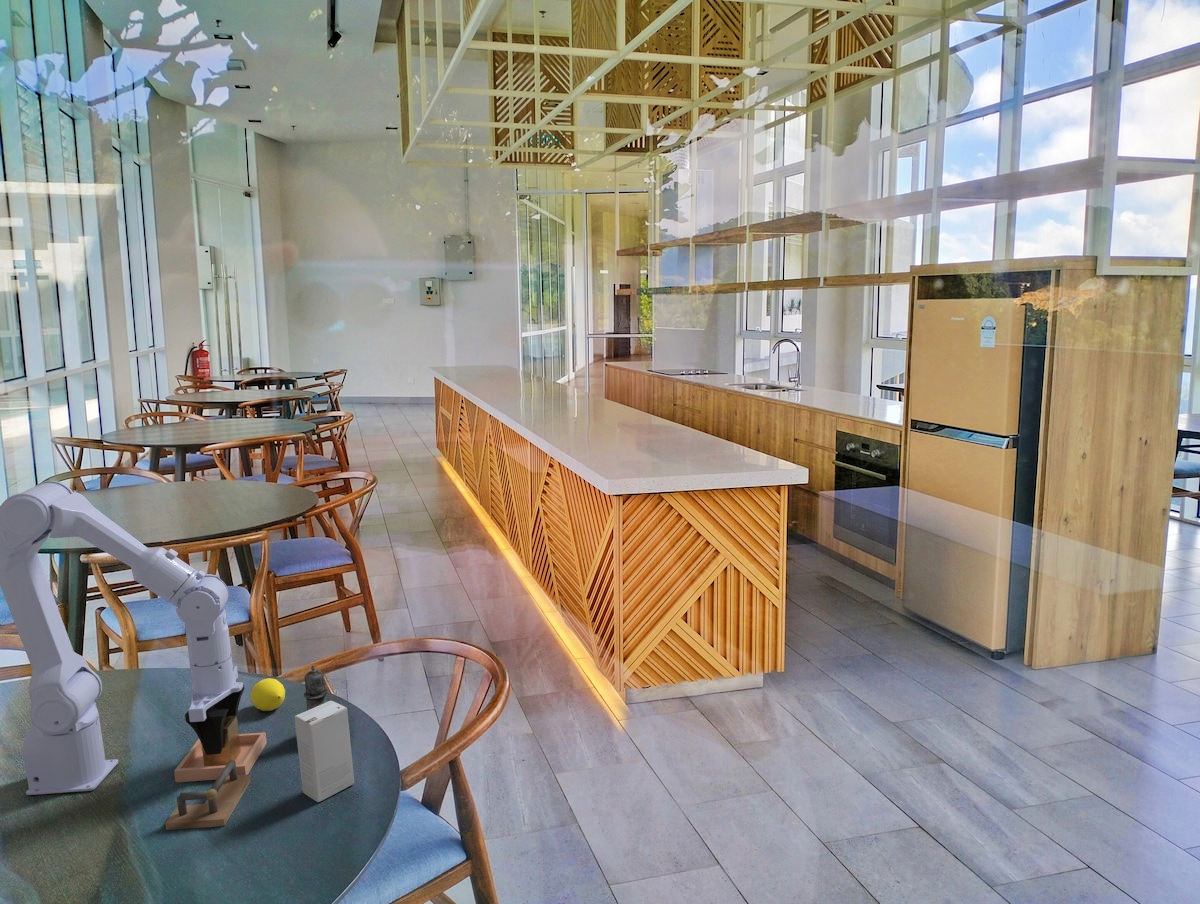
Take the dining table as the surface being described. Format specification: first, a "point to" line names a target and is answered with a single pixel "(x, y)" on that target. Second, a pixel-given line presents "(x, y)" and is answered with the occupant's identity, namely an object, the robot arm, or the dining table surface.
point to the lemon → (267, 694)
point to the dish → (196, 771)
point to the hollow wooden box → (226, 745)
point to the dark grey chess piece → (315, 689)
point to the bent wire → (210, 802)
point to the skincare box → (324, 750)
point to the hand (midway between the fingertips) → (220, 743)
